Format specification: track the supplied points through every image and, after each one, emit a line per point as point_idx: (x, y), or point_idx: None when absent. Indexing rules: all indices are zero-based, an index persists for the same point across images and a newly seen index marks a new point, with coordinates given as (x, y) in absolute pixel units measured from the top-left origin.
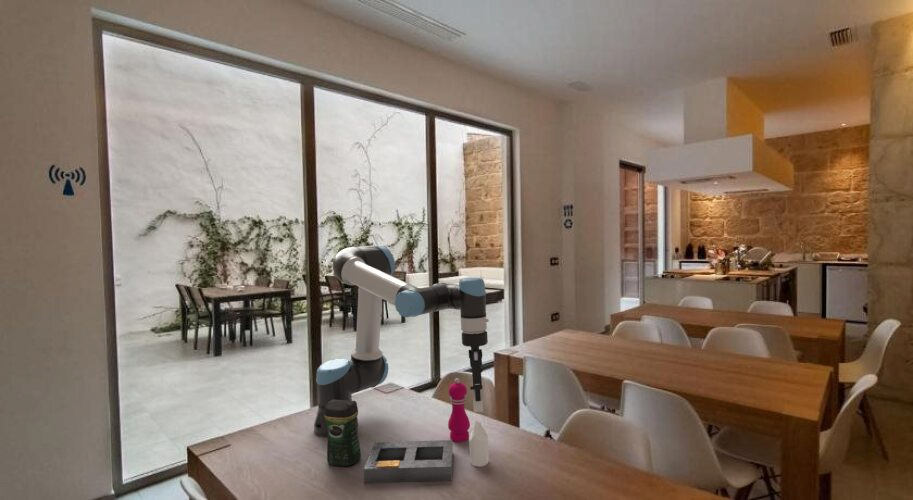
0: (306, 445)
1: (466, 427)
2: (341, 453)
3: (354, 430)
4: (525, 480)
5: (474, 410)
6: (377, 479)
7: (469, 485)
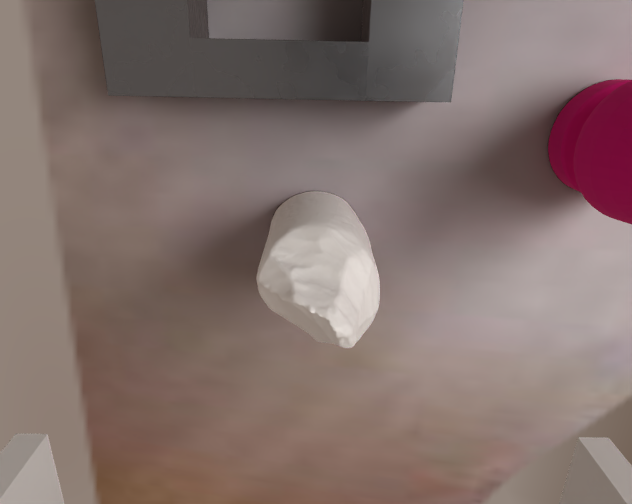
0: None
1: (592, 200)
2: None
3: None
4: (161, 392)
5: (7, 456)
6: None
7: (106, 180)
